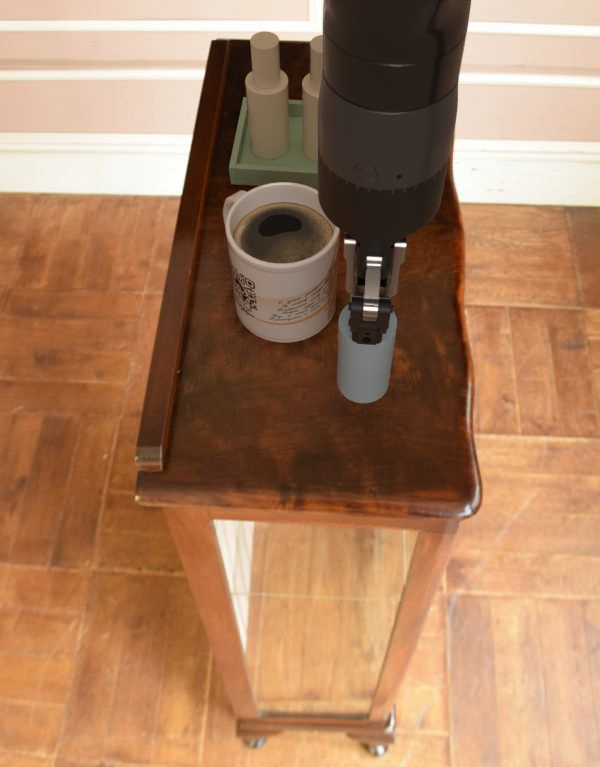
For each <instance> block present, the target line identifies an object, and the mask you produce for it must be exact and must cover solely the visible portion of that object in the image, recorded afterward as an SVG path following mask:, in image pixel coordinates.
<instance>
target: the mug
mask: <svg viewBox="0 0 600 767" xmlns="http://www.w3.org/2000/svg"><path fill="white" fill-rule="evenodd" d="M222 217H223V223H224V228H225V238H226V245H227V252H228V260H229V267H230V275H231V276H230V277H231V284H232V291H233V299H234V307H235V312H236V315H237V317H238V319H239V320H240V323H241V324H242V325H243V326H244V327H245V328H246V329H247V330H248V331H249V332H250V333H251V334H253V335H255V336H256V337H258V338H261V339H263V340H266V341H269V342H274V343H280V344H281V343H282V344H283V343H285V344H287V343H297V342H301V341H305V340H307V339H310V338H312V337H314V336H315V335H317V334H318V333H320V332H321V331H323V330H324V329H325V328H326V326H327V325H328V324H329V323H330V322H331V320H332V318H333V317H334V314H335V312H336V308H337V300H338V299H337V295H338V277H339V273H338V272H339V256H340V239H341V238H340V237H341V229H339V228H338V227H336V226H335V225H334V224H333V223H332V222H331V221H330V220H329V219H328V218H327V217H326V215H325V214H324V212H323V210H322V208H321V206H320V203H319V199H318V190H316V189H314V188H311V187H309V186H306V185H302V184H298V183H291V182H277V183H270V184H265V185H262V186H255V187H253V188H252V189H249V190H248V191H246V190H243V189H242V190H241V189H239V190H238V191H236V192H234V193H233V194H231V195H229V196H227V197H226V198H225V200H224V202H223V207H222Z"/></svg>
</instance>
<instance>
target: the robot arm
mask: <svg viewBox="0 0 600 767" xmlns="http://www.w3.org/2000/svg"><path fill="white" fill-rule="evenodd" d="M322 4H323V5H322V35H323V69H322V80H321V86H320V92H319V99H318V190H317V191H318V199H319V203H320V206H321V208H322V210H323V212H324V214H325V215H326V217H327V218H328V219H329V220H330V221H331V222H332V223H333V224H334V225H335V226H336V227H338V228H339V229H340V231H343V233H344V238H343V259H344V260H345V261H346V271H345V272H346V275H345V276H346V277H345V291H346V293H347V294H350V296H351V295H352V299H351V302H350V301H348V304H349V306H348V310H350V311H351V312H350V319H349V321H348V326H350V331H351V332H352V341H353V342H355V343H357V344H366V345H376V344H379V343H381V341H382V334H386V332H387V329H389V320H390V313H393V311H394V304H392V297H394V296H396V295H397V293H398V287H399V278H400V270H401V265H402V264H404V263H405V261H406V256H407V255H406V254H407V245H408V237H410V236H412V235H414V234H416V233H418V232H420V231H421V230H422V229H424V228H425V227H426V226H428V224H430V223H431V221H433V219H434V218H435V217H436V215H437V213H438V212H439V209H440V206H441V203H442V198H443V194H444V189H445V182H446V177H447V173H448V172H447V171H448V165H449V160H450V156H451V150H452V144H453V139H454V134H455V128H456V123H457V117H458V107H459V80H460V73H461V68H462V62H463V57H464V51H465V45H466V41H467V35H468V28H469V24H470V23H469V22H470V14H471V8H472V0H323V3H322Z"/></svg>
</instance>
